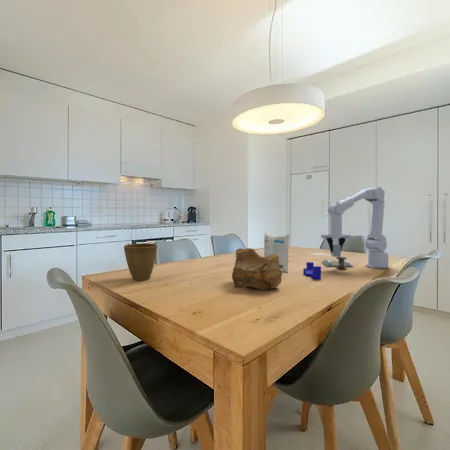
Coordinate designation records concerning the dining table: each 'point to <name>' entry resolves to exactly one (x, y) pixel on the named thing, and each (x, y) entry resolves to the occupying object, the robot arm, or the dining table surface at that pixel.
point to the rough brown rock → (256, 270)
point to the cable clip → (312, 271)
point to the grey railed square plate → (335, 263)
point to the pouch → (277, 248)
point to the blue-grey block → (336, 250)
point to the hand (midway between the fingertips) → (335, 252)
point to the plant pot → (140, 260)
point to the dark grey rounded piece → (341, 263)
